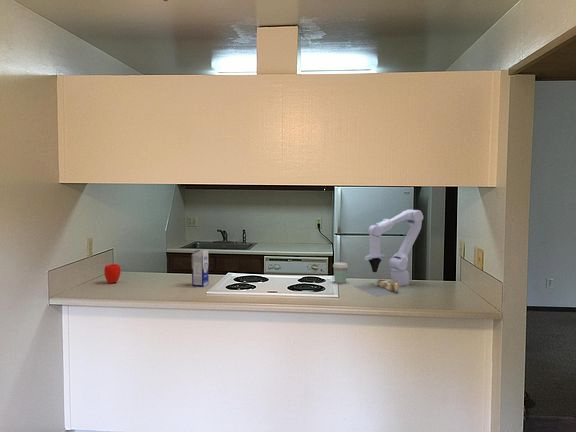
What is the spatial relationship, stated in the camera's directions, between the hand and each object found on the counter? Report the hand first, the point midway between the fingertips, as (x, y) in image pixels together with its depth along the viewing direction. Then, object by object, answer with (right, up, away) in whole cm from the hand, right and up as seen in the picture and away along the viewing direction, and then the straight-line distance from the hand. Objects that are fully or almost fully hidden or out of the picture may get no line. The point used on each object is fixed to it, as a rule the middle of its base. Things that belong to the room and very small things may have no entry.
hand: (374, 271), depth 246 cm
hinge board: (+1, -9, -7) cm, 12 cm away
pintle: (+4, -4, 0) cm, 6 cm away
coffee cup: (-18, -8, +10) cm, 22 cm away
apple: (-148, -8, +11) cm, 148 cm away
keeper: (+7, -9, -13) cm, 17 cm away
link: (+6, -8, -5) cm, 11 cm away
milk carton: (-96, -8, +6) cm, 97 cm away
